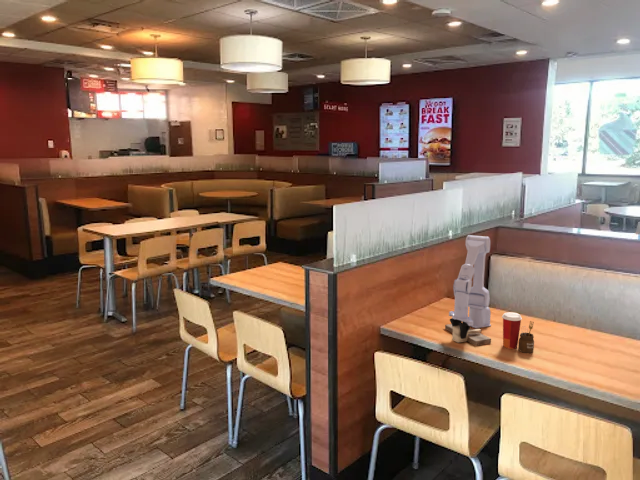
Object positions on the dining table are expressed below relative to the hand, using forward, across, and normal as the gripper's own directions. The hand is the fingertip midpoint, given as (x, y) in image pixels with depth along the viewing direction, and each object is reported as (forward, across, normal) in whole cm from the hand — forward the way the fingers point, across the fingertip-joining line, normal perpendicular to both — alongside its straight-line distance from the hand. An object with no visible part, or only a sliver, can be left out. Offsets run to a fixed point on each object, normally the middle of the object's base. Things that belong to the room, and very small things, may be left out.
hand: (459, 336), depth 221 cm
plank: (+2, -4, +7) cm, 8 cm away
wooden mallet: (+2, 0, +4) cm, 4 cm away
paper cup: (+2, +13, +16) cm, 21 cm away
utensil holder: (+2, +19, +19) cm, 27 cm away
